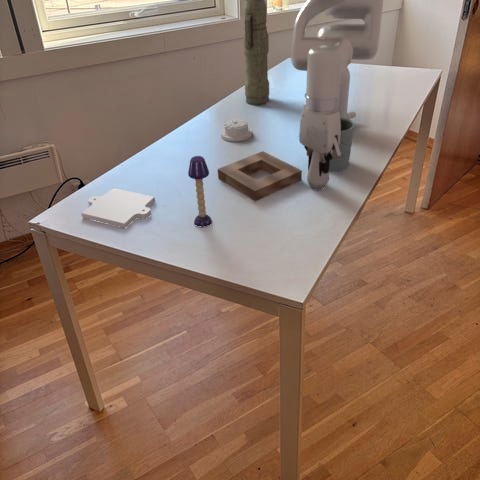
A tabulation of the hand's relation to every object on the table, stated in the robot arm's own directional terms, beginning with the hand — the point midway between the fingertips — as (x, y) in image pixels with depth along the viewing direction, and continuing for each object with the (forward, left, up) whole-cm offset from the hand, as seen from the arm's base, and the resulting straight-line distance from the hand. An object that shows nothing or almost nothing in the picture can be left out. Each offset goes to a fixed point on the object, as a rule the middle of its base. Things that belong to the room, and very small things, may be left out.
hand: (318, 171), depth 123 cm
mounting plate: (+45, -25, -5) cm, 52 cm away
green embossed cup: (-12, -6, -5) cm, 14 cm away
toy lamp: (+32, -6, -4) cm, 33 cm away
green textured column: (-29, -60, -4) cm, 67 cm away
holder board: (+9, -13, -4) cm, 16 cm away
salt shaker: (0, 0, -4) cm, 4 cm away
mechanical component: (-4, -41, -5) cm, 41 cm away
